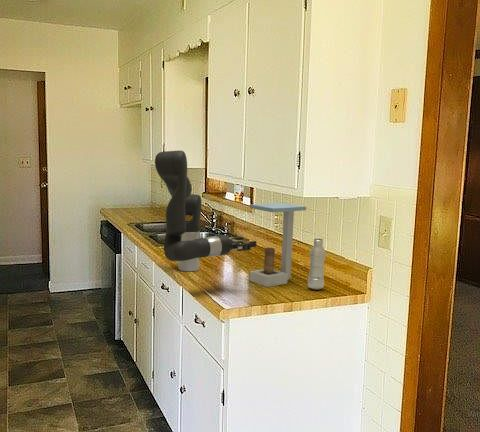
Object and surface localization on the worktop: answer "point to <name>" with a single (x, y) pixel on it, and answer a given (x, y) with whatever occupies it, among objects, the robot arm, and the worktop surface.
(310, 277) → the plastic bottle
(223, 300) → the worktop surface
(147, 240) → the worktop surface
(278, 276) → the socket stand
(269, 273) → the peg
